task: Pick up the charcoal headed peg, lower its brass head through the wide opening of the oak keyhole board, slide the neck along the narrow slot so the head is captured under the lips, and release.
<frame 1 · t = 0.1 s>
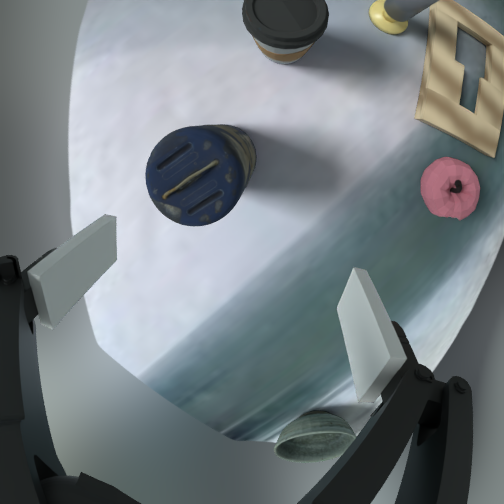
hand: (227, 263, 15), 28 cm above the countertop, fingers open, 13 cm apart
coffee cup: (283, 45, 32), on the countertop
bowl: (314, 418, 66), on the countertop
apple: (431, 178, 38), on the countertop
keyhole board: (464, 72, 29), on the countertop
peg: (387, 17, 27), on the countertop
canister: (224, 156, 40), on the countertop
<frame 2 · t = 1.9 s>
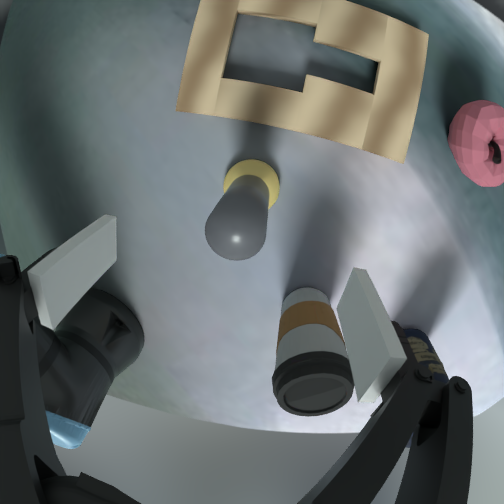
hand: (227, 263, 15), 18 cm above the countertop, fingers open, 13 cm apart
coffee cup: (305, 304, 38), on the countertop
apple: (457, 136, 26), on the countertop
keyhole board: (307, 61, 25), on the countertop
peg: (252, 185, 31), on the countertop
canister: (399, 346, 40), on the countertop
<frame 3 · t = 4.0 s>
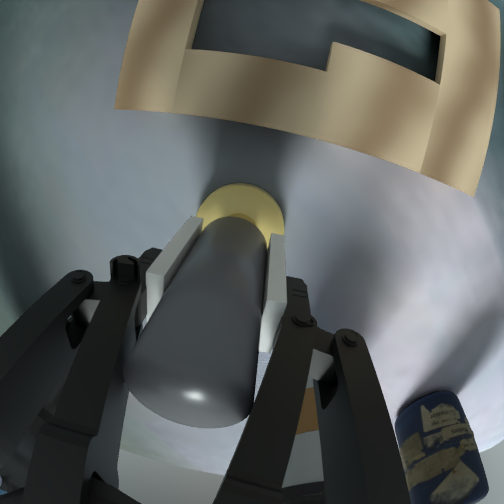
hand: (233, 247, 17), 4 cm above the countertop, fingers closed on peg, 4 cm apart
coffee cup: (315, 376, 27), on the countertop
keyhole board: (331, 26, 14), on the countertop
peg: (240, 225, 20), on the countertop, touching gripper
canister: (424, 406, 29), on the countertop
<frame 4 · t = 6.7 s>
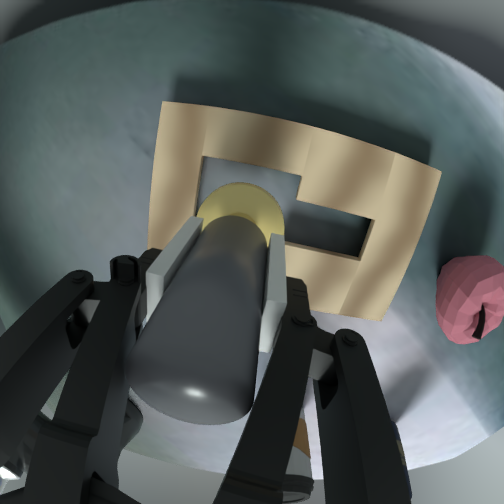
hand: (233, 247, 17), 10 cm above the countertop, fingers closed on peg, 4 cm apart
coffee cup: (282, 408, 39), on the countertop
apple: (449, 272, 27), on the countertop
keyhole board: (289, 213, 26), on the countertop
peg: (240, 224, 20), point 6 cm above the countertop, touching gripper
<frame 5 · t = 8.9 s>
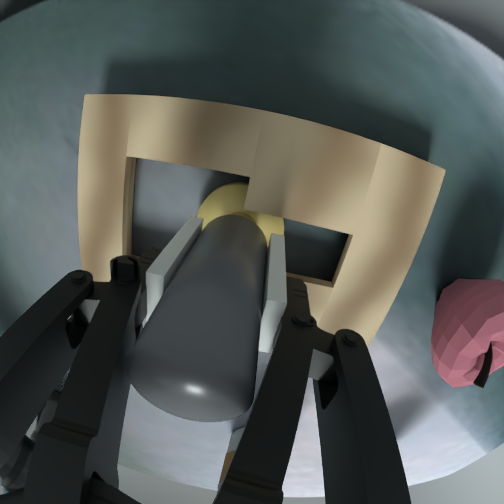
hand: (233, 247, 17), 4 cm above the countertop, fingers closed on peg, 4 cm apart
coffee cup: (254, 435, 34), on the countertop
apple: (450, 295, 22), on the countertop
keyhole board: (242, 224, 20), on the countertop
peg: (240, 223, 20), resting in keyhole board, touching gripper
when the fingers open (4 cm above the countertop, at t = 9.9 s): peg stays where it is, resting in keyhole board.
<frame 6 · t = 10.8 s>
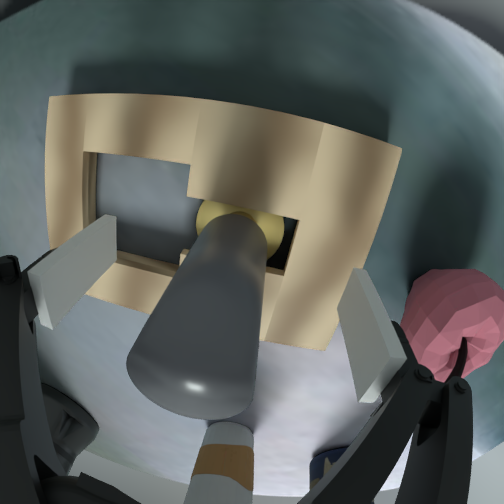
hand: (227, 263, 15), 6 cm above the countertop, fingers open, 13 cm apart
coffee cup: (230, 430, 33), on the countertop
apple: (425, 287, 22), on the countertop
keyhole board: (193, 213, 20), on the countertop
peg: (241, 223, 20), resting in keyhole board
canister: (338, 454, 36), on the countertop
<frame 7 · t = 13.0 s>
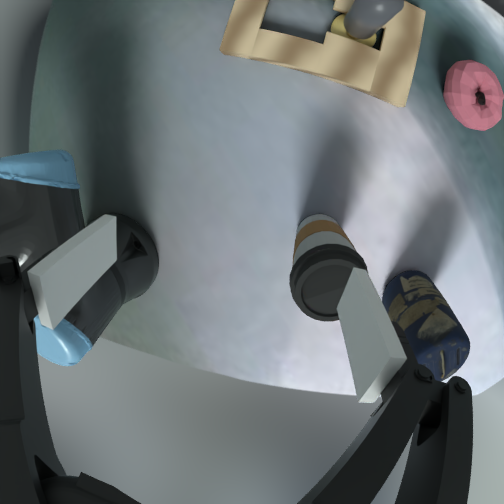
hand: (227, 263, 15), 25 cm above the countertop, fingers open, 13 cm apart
coffee cup: (318, 233, 41), on the countertop
apple: (452, 95, 29), on the countertop
keyhole board: (327, 25, 28), on the countertop
peg: (352, 33, 28), resting in keyhole board
canister: (405, 291, 43), on the countertop
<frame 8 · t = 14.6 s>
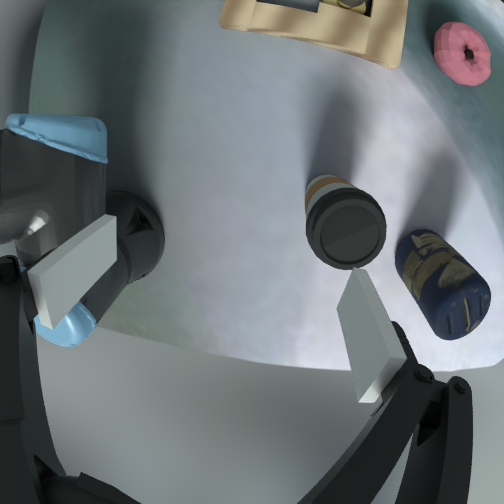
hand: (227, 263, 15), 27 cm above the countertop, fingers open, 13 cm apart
coffee cup: (326, 195, 40), on the countertop
apple: (442, 58, 28), on the countertop
peg: (343, 5, 27), resting in keyhole board
canister: (416, 252, 42), on the countertop
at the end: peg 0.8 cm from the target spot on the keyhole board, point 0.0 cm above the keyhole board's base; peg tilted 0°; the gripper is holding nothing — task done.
